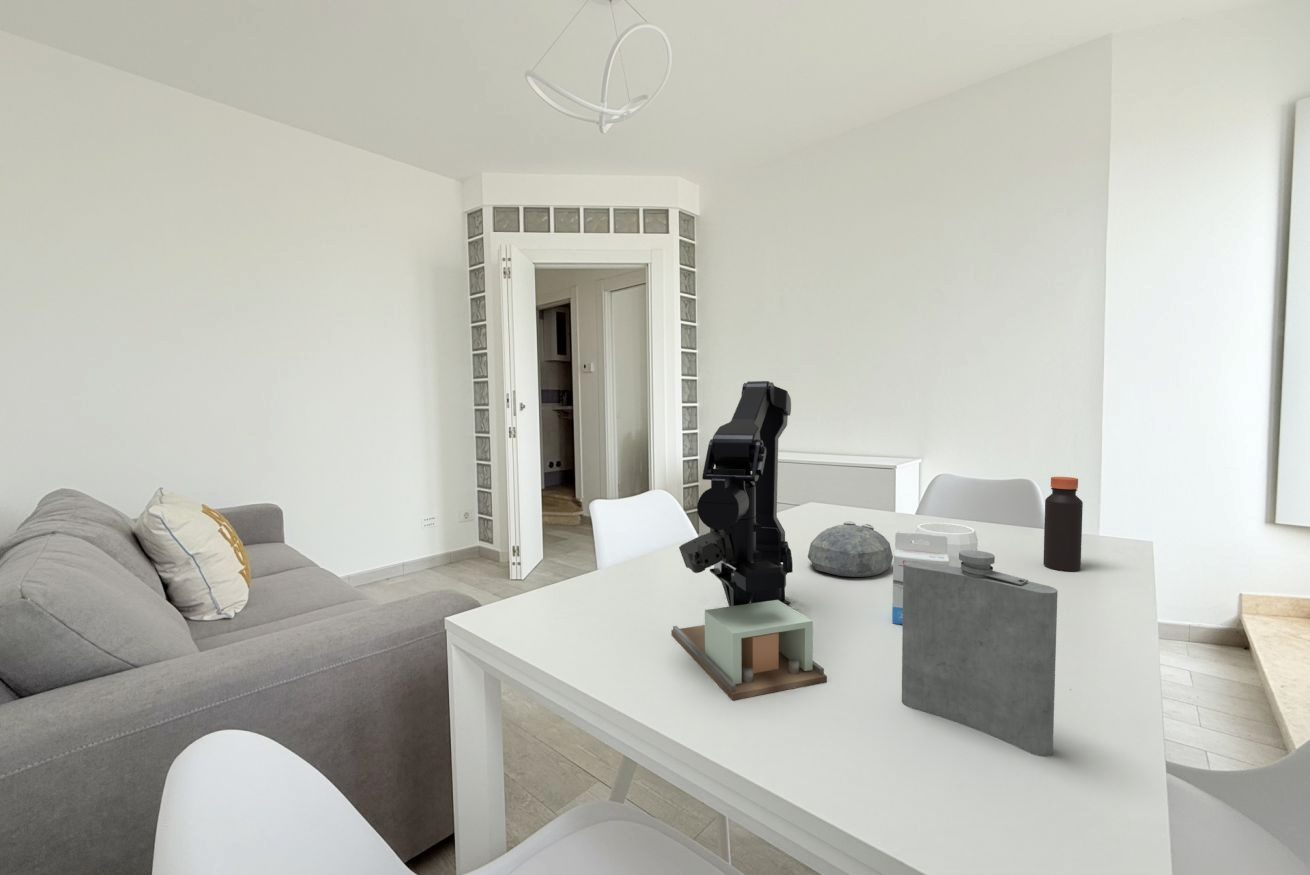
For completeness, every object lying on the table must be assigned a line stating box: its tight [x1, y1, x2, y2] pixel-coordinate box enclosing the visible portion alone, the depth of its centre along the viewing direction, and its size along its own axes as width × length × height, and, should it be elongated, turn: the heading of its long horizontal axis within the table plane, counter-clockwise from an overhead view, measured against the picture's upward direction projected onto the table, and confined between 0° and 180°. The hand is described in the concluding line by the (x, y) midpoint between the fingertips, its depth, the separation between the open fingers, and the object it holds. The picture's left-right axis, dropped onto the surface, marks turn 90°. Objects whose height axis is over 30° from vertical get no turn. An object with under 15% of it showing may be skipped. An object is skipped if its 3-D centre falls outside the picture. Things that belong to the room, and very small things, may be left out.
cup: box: [913, 522, 979, 568], centre depth 125 cm, size 12×12×10 cm
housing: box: [704, 600, 814, 684], centre depth 80 cm, size 12×9×7 cm
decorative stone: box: [807, 521, 894, 578], centre depth 129 cm, size 18×21×10 cm
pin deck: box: [670, 624, 828, 701], centre depth 85 cm, size 14×22×2 cm, turn 19°
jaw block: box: [741, 633, 779, 673], centre depth 80 cm, size 4×4×5 cm
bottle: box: [1042, 476, 1084, 572], centre depth 127 cm, size 7×7×20 cm
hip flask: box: [901, 550, 1058, 757], centre depth 66 cm, size 16×4×20 cm, turn 43°
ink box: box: [891, 531, 949, 626], centre depth 97 cm, size 9×5×15 cm, turn 65°
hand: (736, 619), depth 86 cm, fingers closed
